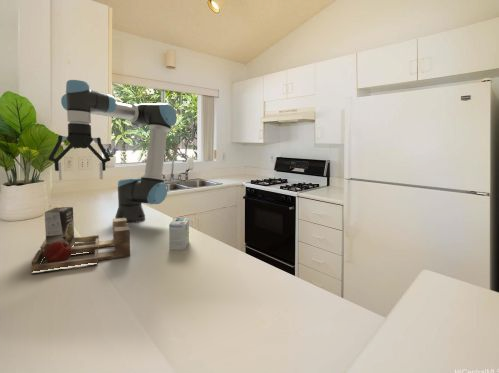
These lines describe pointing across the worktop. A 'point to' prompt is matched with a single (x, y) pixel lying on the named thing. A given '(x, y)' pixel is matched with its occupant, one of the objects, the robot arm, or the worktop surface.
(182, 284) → the worktop surface
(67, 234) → the coffee box
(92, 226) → the worktop surface
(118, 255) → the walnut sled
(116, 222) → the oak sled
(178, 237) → the light bulb box
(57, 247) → the apple
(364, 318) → the worktop surface
